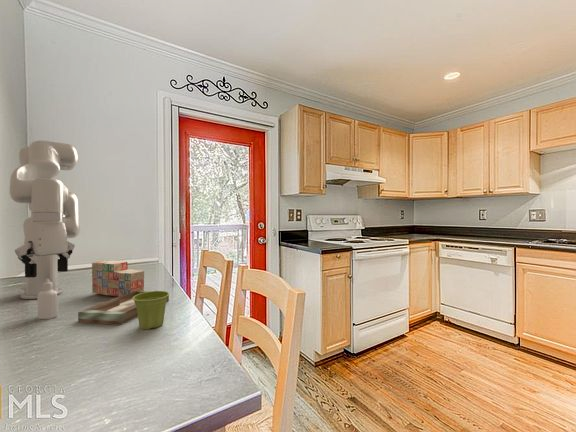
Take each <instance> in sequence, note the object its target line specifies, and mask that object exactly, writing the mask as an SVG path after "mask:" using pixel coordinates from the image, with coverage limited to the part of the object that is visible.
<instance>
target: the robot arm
mask: <svg viewBox="0 0 576 432" xmlns="http://www.w3.org/2000/svg"><path fill="white" fill-rule="evenodd" d="M78 155H79V154H78V151H77V149H76V147H74V145H72V144H69V143H65V142H64V143H62V142H55V141H49V140H35V141H32V142H31V143H30V144H29V146H23V147H22V148H20V149H19V152H18V157H19V163H20V166H18V167H17V168H15V169H14V170H13V171H12V173H11V174H10V175H11V176H10V181H9V196H10V198H11V199H12V200H13V202H16V203H19V204H28V208H29V211H30V213H31V216H29V217H27V218H26V219H24V221H23V224H22V225H23V226H22V227H23V228H22V229H23V234H24V241H23V245H21V246H19V247H18V248H16V249H14V253H15V254H16V256H17V260H19V261H20V262H21V263H22V264H23V265H24V277H25V278H26V279H25V281H26V282H25V283H24V285H21V286H20V291H21V290H22V291H24V293H22V294H20V298H21V299H23V300H38V293H39V292H41V291H43V290H42V284H43V283H45V281H46V279H47V278H49V280H50V282H52V283H53V289H52V290H54V291H55V292H56V293H57V296H58V295H60V294H62V293H64V290H63V288H59V272H65V273H66V272H68V270H69V266H68V265H69V263H68V262H69V261H68V260H69V259H70V258H71V256H72V254H73V252H74V248H75V244H74V243H72V242H70V241H68V239H73V238H77V237H78V236H79V234H80V231H81V226H80V208H79V199H78V196H77V195H76V193H74V192H71V191H70V192H69V188H68V187H66V185H65V184H64V183H63V181H62V180H60V179H57V178H54V177H57V176H58V175H59V173H60V171H71V170H73V169H74V168H75V166H76V165H77V163H78V158H79V156H78Z"/></svg>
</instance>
